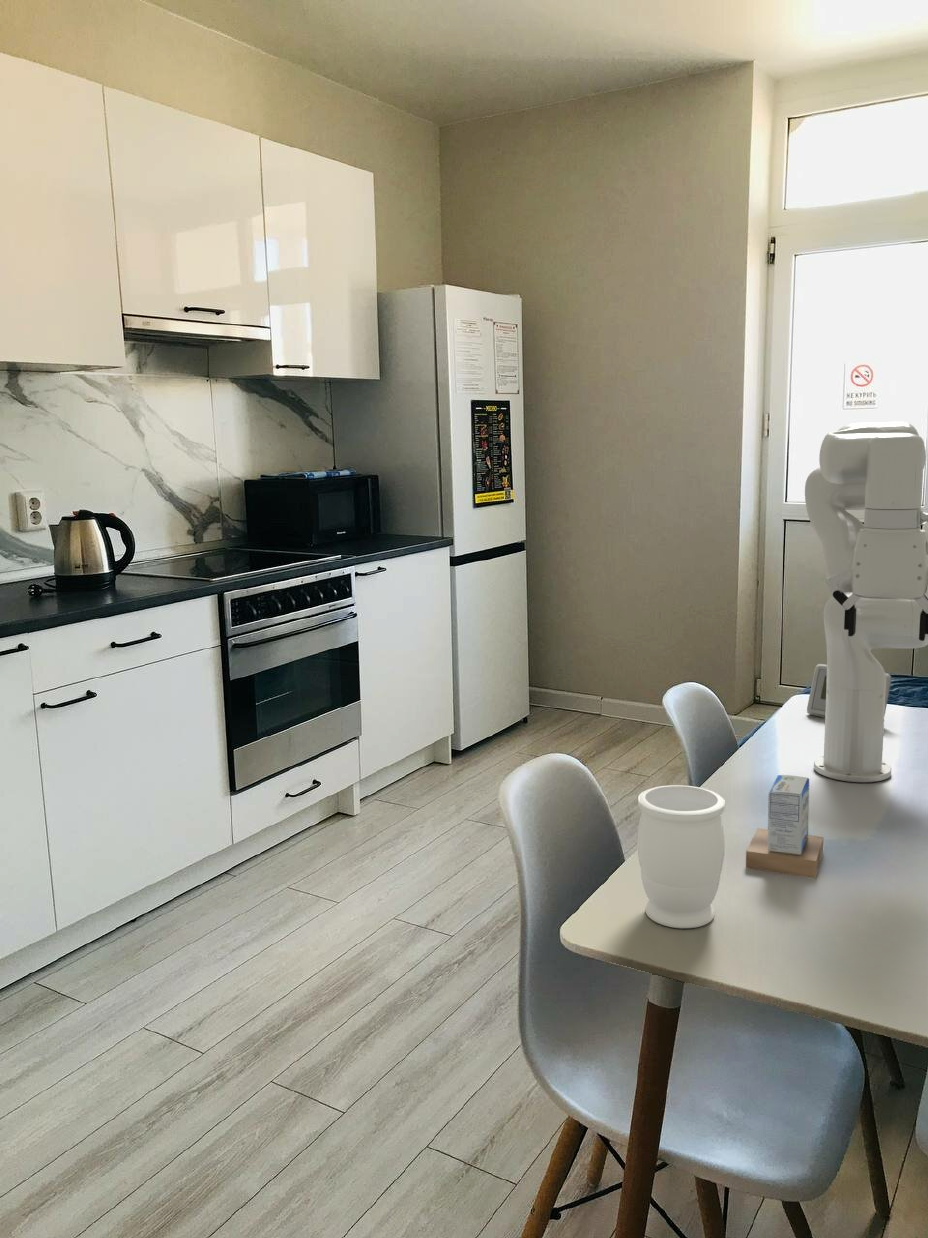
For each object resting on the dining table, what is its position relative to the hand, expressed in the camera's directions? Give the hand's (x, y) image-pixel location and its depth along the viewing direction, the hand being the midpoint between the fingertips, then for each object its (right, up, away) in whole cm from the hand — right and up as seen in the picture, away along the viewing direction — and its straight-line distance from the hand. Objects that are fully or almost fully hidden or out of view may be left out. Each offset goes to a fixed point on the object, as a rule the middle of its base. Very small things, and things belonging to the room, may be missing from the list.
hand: (886, 637), depth 149 cm
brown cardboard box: (-18, -31, -9) cm, 37 cm away
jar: (-36, -34, -24) cm, 55 cm away
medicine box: (-18, -29, -10) cm, 35 cm away
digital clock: (+17, -18, +59) cm, 64 cm away
